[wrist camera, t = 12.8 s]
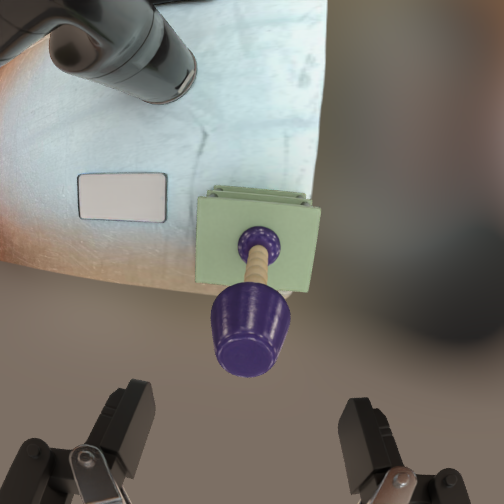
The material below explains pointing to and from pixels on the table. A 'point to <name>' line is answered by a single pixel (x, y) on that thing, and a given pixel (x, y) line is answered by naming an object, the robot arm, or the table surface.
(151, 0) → the carrying case
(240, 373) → the toy lamp
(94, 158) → the table surface
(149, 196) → the smartphone
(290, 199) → the shelf
